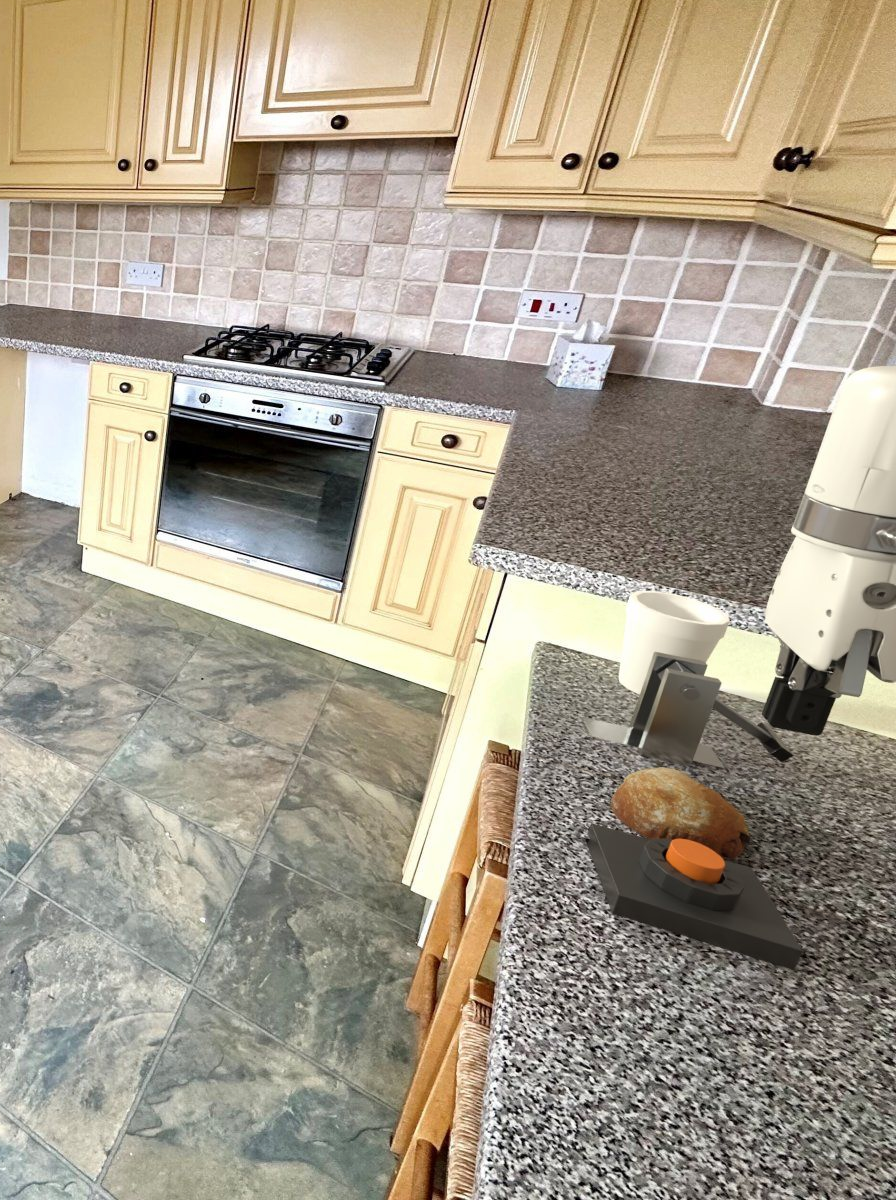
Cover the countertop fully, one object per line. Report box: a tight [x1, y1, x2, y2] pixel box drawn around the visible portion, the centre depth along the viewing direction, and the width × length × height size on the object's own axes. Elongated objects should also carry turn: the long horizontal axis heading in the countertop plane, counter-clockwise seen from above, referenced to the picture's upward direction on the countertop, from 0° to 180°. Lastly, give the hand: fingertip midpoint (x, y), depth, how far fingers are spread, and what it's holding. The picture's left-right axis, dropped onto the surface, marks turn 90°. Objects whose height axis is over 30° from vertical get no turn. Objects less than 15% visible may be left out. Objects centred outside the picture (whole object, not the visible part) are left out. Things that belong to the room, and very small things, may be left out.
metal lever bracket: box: [580, 652, 726, 769], centre depth 88 cm, size 12×9×13 cm
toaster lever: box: [658, 662, 795, 763], centre depth 85 cm, size 12×5×2 cm, turn 60°
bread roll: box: [610, 766, 752, 860], centre depth 79 cm, size 10×10×8 cm
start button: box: [665, 839, 725, 884], centre depth 70 cm, size 4×4×2 cm
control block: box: [584, 822, 804, 971], centre depth 71 cm, size 12×10×4 cm
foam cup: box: [618, 590, 731, 695], centre depth 101 cm, size 10×9×13 cm
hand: (790, 726), depth 66 cm, fingers closed
